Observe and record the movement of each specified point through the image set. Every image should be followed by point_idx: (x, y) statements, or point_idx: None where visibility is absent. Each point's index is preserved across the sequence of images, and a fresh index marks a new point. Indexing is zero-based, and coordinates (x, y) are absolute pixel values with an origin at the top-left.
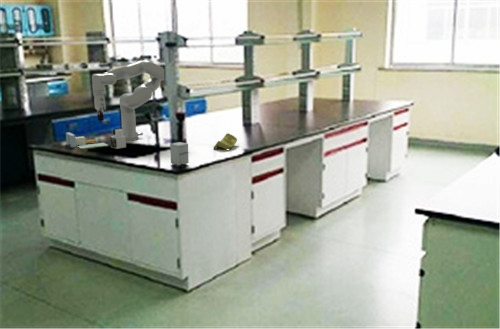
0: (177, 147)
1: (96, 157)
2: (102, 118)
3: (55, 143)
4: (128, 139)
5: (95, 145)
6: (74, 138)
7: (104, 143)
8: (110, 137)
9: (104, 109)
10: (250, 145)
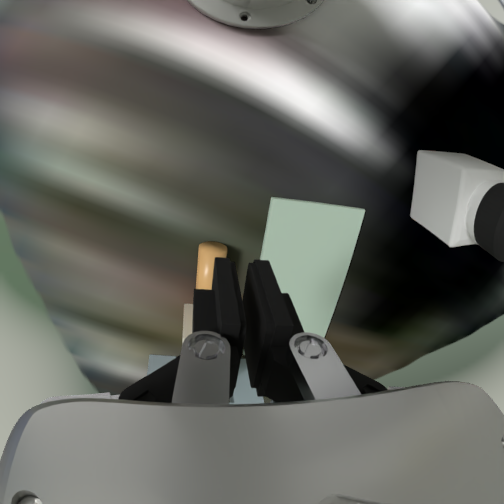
0: None
1: (471, 331)
2: (288, 295)
3: (103, 391)
4: (320, 4)
5: (315, 277)
6: (262, 399)
7: (301, 205)
8: (448, 245)
9: (375, 393)
10: None
